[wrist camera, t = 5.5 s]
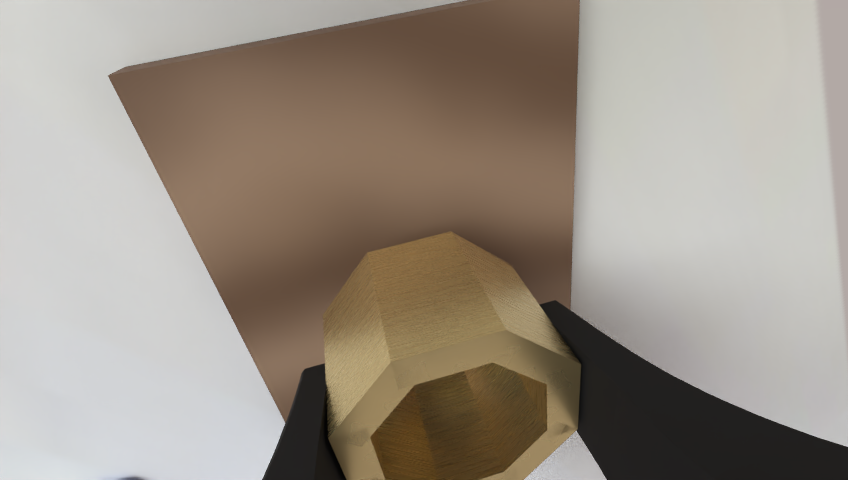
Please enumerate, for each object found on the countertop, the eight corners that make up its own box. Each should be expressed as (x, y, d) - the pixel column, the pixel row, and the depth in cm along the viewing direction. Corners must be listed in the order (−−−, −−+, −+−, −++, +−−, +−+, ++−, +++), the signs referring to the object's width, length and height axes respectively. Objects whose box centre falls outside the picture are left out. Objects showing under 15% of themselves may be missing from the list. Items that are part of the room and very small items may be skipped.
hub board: (555, 365, 21) (605, 442, 18) (305, 438, 20) (305, 536, 16) (558, -17, 13) (654, -16, 9) (125, 67, 12) (44, 106, 8)
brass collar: (516, 358, 15) (575, 466, 12) (355, 404, 15) (370, 532, 11) (508, 217, 12) (584, 307, 9) (305, 267, 12) (305, 385, 8)
